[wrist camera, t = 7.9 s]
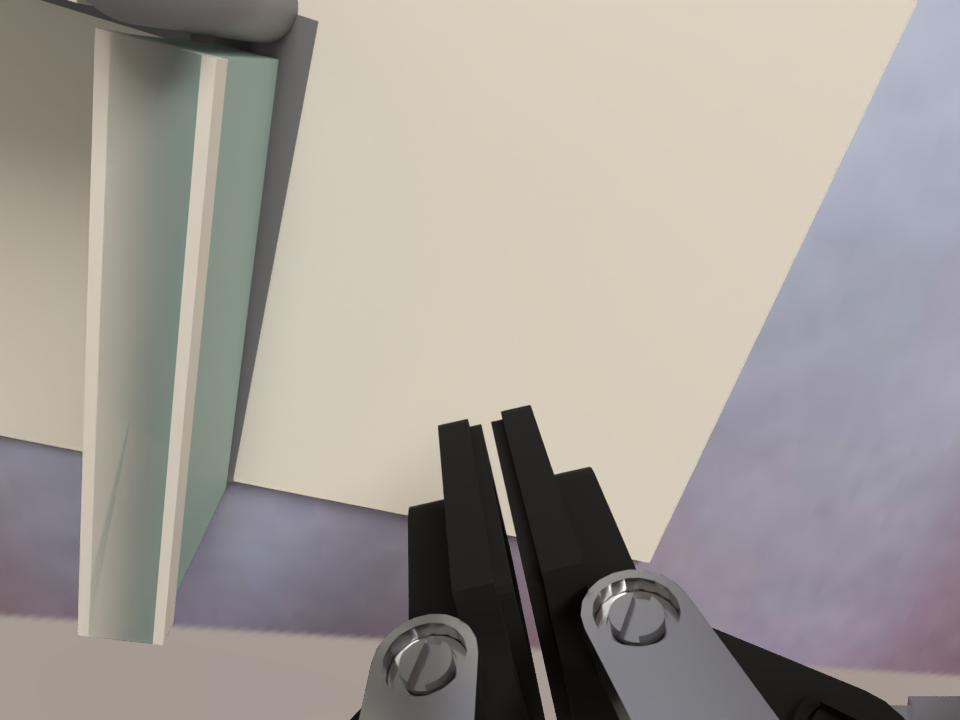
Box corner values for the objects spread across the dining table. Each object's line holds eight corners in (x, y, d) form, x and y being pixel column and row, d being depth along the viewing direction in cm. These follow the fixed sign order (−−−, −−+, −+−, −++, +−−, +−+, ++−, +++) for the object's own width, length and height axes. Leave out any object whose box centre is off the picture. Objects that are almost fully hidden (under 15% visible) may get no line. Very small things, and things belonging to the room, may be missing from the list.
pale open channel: (287, 61, 14) (216, 59, 9) (233, 488, 19) (163, 645, 14) (211, 42, 14) (95, 28, 9) (172, 479, 18) (77, 635, 13)
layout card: (-710, -777, 10) (-765, -819, 9) (945, -81, 15) (961, -85, 15) (-452, 336, 16) (-477, 344, 16) (645, 554, 22) (650, 564, 21)
